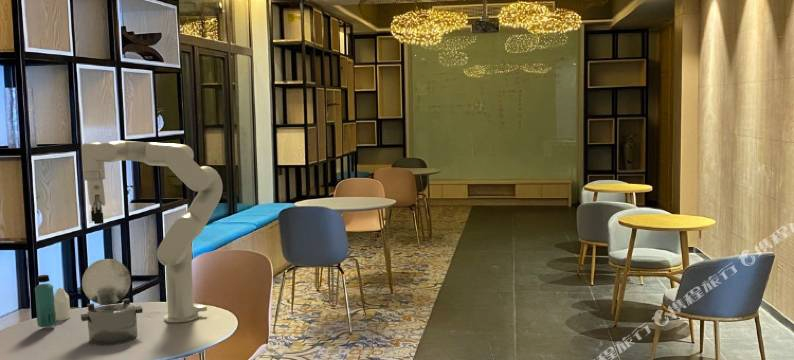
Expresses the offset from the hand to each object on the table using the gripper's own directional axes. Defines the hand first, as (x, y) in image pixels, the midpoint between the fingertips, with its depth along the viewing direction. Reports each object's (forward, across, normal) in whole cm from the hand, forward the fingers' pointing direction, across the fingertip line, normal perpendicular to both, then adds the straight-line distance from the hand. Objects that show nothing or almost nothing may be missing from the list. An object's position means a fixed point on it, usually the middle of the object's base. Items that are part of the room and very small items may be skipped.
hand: (97, 221), depth 292 cm
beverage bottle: (+38, 0, +20) cm, 43 cm away
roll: (+38, +12, +14) cm, 42 cm away
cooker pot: (+38, -26, 0) cm, 46 cm away
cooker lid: (+20, -16, 0) cm, 26 cm away
